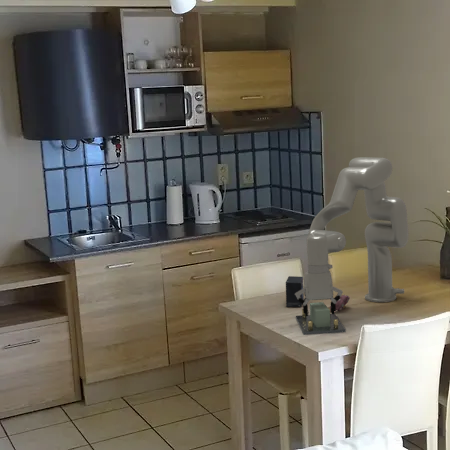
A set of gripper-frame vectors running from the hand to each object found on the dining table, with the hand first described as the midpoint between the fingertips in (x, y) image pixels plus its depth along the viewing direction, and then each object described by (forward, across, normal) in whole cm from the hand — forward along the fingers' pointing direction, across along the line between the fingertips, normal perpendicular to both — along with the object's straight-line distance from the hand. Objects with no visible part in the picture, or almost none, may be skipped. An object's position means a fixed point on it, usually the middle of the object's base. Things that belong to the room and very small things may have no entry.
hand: (319, 314), depth 261 cm
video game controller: (+4, -11, -18) cm, 22 cm away
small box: (+4, +5, -30) cm, 31 cm away
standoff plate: (+4, 0, 0) cm, 4 cm away
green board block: (+3, 0, 0) cm, 3 cm away
